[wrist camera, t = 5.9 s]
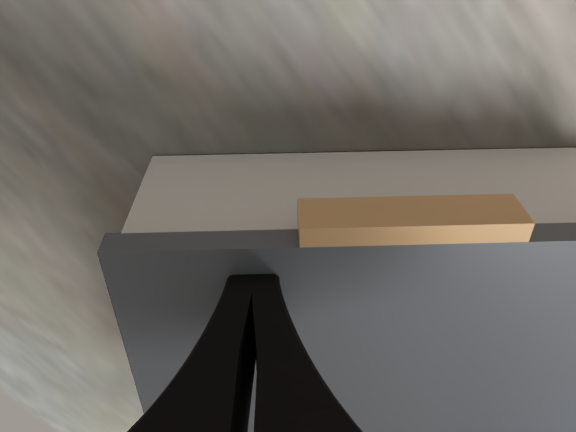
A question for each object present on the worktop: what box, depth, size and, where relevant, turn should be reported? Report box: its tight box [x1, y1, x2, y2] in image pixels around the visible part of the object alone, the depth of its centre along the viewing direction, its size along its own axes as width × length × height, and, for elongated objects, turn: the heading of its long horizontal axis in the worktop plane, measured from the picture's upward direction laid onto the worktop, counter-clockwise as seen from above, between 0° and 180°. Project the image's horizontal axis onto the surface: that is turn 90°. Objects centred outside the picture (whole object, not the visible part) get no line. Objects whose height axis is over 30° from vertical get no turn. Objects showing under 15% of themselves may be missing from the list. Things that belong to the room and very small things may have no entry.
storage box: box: [121, 147, 576, 233], centre depth 20 cm, size 12×16×5 cm
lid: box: [97, 194, 576, 432], centre depth 17 cm, size 13×16×1 cm
